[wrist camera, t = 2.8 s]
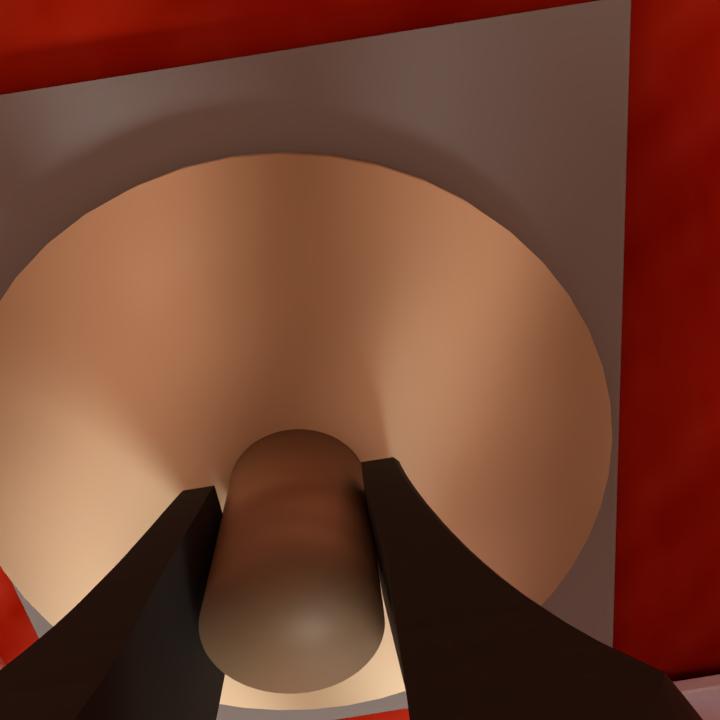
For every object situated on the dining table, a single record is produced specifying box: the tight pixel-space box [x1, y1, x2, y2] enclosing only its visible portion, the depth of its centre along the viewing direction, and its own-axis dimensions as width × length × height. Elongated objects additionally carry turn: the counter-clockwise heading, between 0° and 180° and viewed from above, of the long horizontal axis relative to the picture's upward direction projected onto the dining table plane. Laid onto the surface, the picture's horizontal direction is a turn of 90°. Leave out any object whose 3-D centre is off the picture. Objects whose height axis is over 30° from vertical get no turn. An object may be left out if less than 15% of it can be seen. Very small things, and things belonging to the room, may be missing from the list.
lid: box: [0, 152, 612, 710], centre depth 11 cm, size 13×13×4 cm
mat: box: [0, 0, 631, 720], centre depth 14 cm, size 14×16×1 cm
